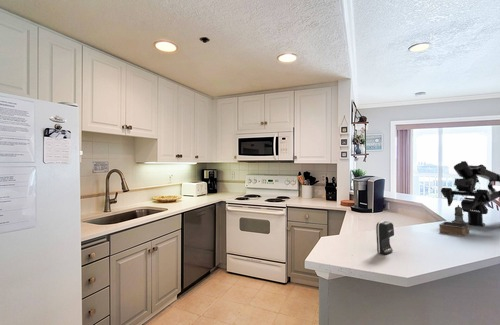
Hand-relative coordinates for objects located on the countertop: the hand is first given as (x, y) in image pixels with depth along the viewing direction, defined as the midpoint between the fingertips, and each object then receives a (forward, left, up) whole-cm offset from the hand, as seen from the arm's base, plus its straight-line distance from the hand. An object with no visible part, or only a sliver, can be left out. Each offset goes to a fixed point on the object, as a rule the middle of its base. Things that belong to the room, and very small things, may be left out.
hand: (459, 206), depth 121 cm
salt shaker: (+2, 0, -11) cm, 11 cm away
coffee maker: (+61, -9, -11) cm, 63 cm away
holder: (+11, 0, -11) cm, 15 cm away
